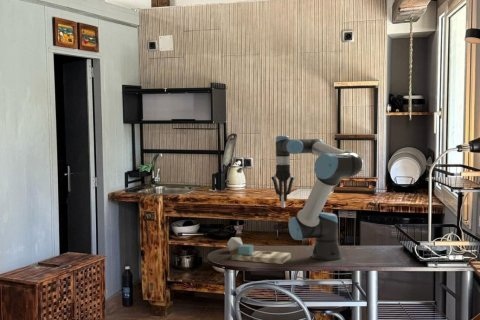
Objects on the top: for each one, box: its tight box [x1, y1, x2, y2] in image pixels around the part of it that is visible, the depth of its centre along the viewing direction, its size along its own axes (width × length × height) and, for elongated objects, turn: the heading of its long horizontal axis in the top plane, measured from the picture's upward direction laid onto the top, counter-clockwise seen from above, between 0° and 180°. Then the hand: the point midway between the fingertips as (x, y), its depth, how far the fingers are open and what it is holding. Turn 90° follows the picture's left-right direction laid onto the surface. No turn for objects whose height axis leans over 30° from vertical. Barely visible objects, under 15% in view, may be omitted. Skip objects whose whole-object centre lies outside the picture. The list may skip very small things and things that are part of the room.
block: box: [239, 243, 255, 255], centre depth 282 cm, size 6×6×4 cm
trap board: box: [229, 245, 292, 265], centre depth 279 cm, size 28×14×5 cm, turn 68°
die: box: [226, 236, 243, 252], centre depth 297 cm, size 8×9×10 cm
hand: (283, 207), depth 294 cm, fingers closed
